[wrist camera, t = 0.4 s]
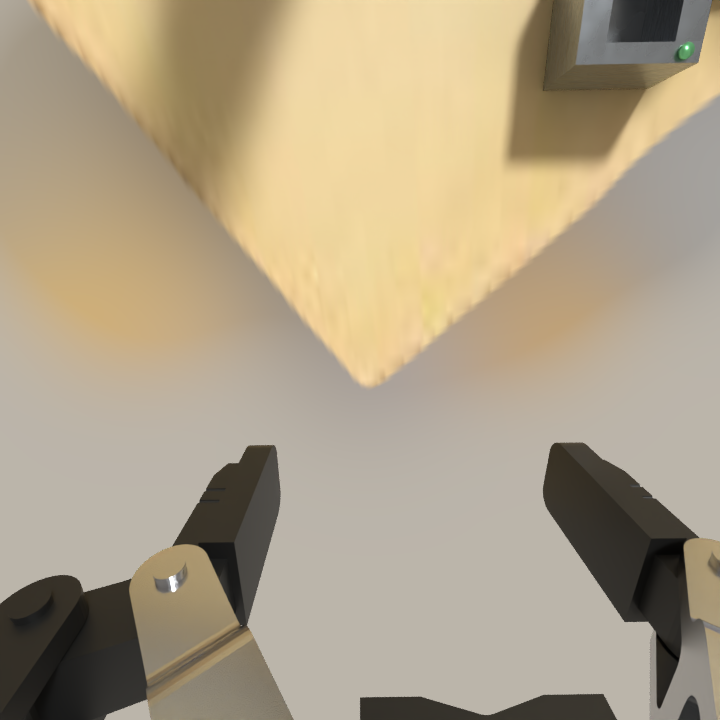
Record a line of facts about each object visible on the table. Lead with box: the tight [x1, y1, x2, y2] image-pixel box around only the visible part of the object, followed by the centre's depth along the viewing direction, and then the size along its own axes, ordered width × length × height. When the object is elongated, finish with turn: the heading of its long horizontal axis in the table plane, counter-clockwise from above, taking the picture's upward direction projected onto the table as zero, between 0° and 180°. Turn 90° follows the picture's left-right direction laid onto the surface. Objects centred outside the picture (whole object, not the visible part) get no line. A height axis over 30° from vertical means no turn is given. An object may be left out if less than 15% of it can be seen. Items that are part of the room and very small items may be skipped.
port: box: [543, 0, 712, 90], centre depth 28 cm, size 9×9×5 cm
